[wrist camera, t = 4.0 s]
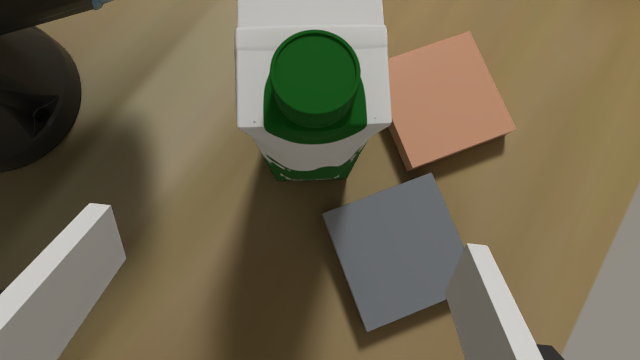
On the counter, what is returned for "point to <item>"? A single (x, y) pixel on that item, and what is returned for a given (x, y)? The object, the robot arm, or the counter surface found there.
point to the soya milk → (311, 82)
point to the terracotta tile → (443, 101)
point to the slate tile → (396, 250)
